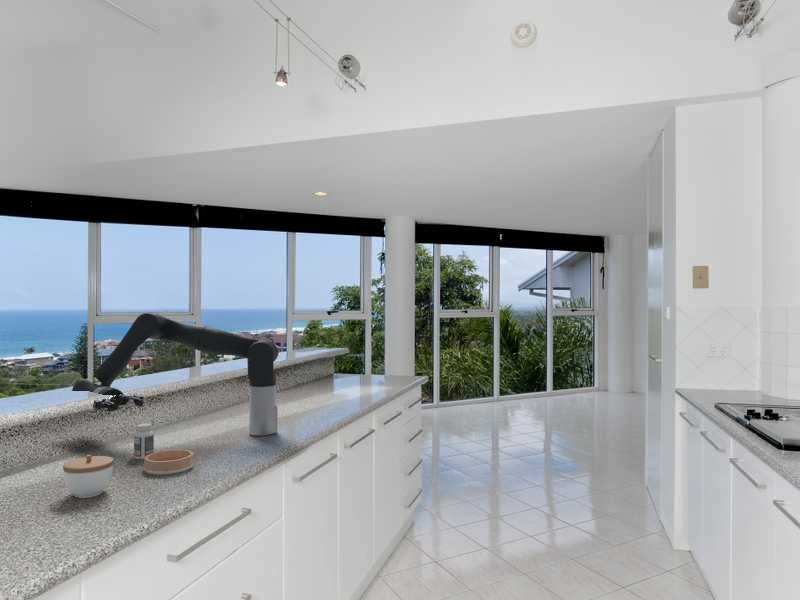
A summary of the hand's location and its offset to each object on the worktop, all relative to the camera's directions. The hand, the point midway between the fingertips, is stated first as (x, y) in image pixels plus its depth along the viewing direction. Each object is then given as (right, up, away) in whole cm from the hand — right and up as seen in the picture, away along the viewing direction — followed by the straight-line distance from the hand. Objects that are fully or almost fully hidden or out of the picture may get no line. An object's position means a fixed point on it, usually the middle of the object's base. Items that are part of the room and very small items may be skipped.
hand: (127, 405), depth 171 cm
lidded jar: (+10, -14, -39) cm, 43 cm away
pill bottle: (+9, -14, -7) cm, 18 cm away
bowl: (+21, -14, -18) cm, 31 cm away
